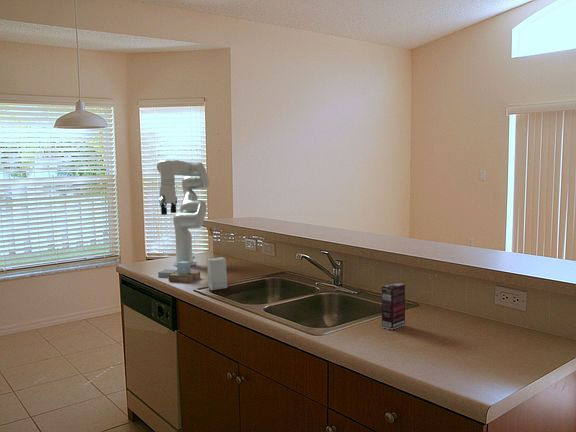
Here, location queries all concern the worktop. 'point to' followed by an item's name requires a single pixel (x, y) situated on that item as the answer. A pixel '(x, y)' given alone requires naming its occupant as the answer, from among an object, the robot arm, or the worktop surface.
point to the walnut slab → (184, 277)
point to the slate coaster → (166, 273)
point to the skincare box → (217, 273)
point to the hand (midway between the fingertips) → (168, 213)
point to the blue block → (183, 267)
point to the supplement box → (393, 305)
